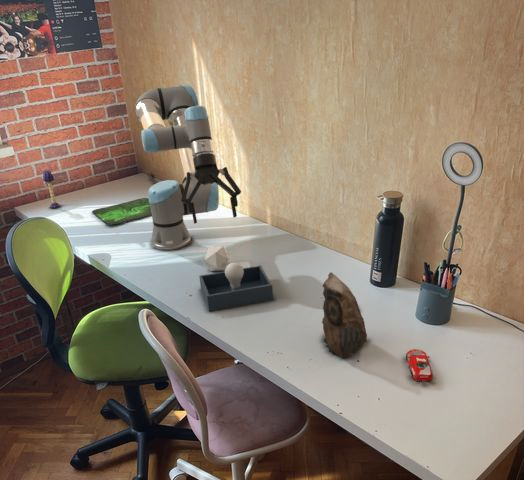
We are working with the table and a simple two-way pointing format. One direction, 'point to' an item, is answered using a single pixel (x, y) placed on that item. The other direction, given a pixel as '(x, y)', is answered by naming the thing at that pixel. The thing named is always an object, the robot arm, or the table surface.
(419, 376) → the race car
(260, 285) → the tote
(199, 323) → the table surface
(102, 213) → the mouse mat
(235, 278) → the lightbulb
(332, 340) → the owl
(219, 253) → the die
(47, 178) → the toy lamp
